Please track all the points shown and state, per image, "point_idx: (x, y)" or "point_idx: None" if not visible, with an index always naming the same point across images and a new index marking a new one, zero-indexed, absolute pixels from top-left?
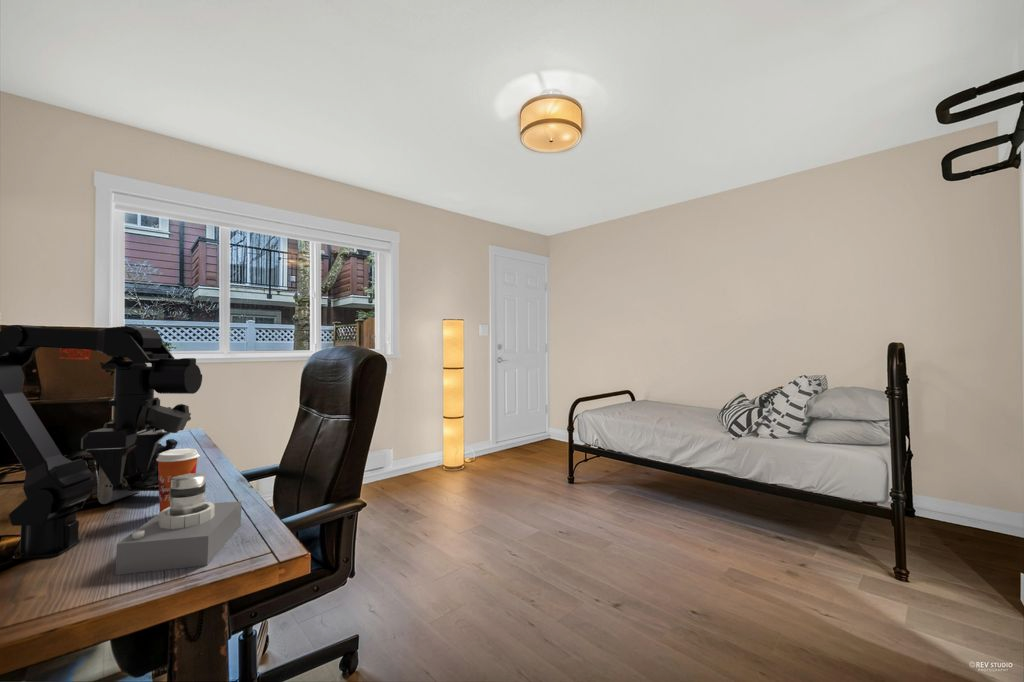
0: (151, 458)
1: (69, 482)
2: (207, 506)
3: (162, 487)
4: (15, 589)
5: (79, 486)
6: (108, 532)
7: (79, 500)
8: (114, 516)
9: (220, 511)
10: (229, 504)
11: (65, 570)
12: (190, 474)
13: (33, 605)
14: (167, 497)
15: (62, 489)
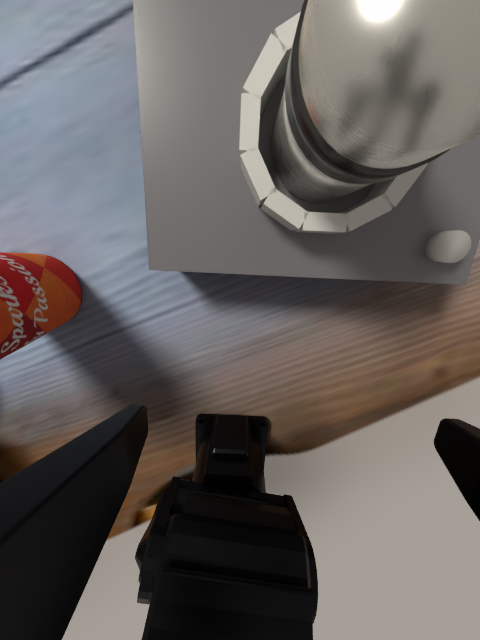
0: (73, 449)
1: (287, 599)
2: (288, 57)
3: (8, 345)
4: (391, 408)
5: (237, 552)
6: (152, 388)
7: (224, 498)
8: (50, 419)
9: (260, 26)
10: (170, 10)
11: (340, 374)
12: (349, 12)
13: (477, 353)
14: (39, 315)
15: (308, 578)
